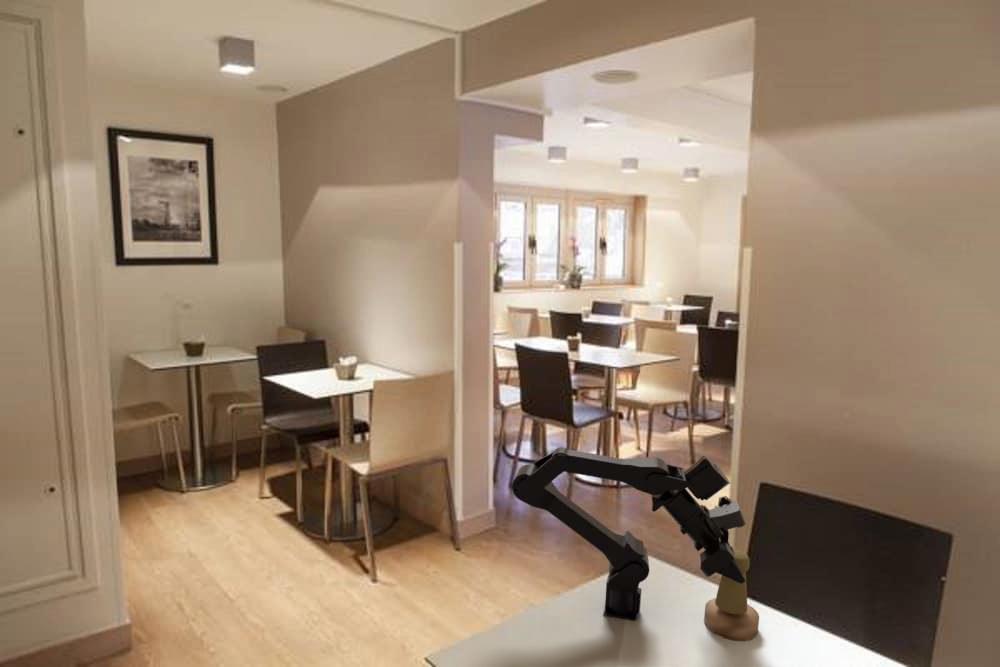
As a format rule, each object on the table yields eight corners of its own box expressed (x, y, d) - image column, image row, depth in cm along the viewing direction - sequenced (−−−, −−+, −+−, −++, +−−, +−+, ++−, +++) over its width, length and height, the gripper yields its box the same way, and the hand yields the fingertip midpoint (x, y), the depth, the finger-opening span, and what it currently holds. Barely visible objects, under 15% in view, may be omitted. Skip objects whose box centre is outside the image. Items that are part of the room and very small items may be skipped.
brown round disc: (704, 634, 125) (705, 620, 125) (703, 607, 135) (704, 594, 135) (760, 645, 123) (761, 630, 122) (755, 616, 132) (756, 603, 132)
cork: (750, 616, 125) (755, 562, 123) (716, 611, 126) (722, 557, 124) (744, 599, 131) (750, 547, 129) (713, 595, 132) (718, 543, 130)
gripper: (726, 508, 117) (785, 575, 116) (716, 473, 135) (768, 531, 134) (676, 543, 120) (734, 609, 119) (674, 504, 138) (724, 561, 137)
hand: (741, 575), depth 127 cm, fingers closed on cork, 5 cm apart
